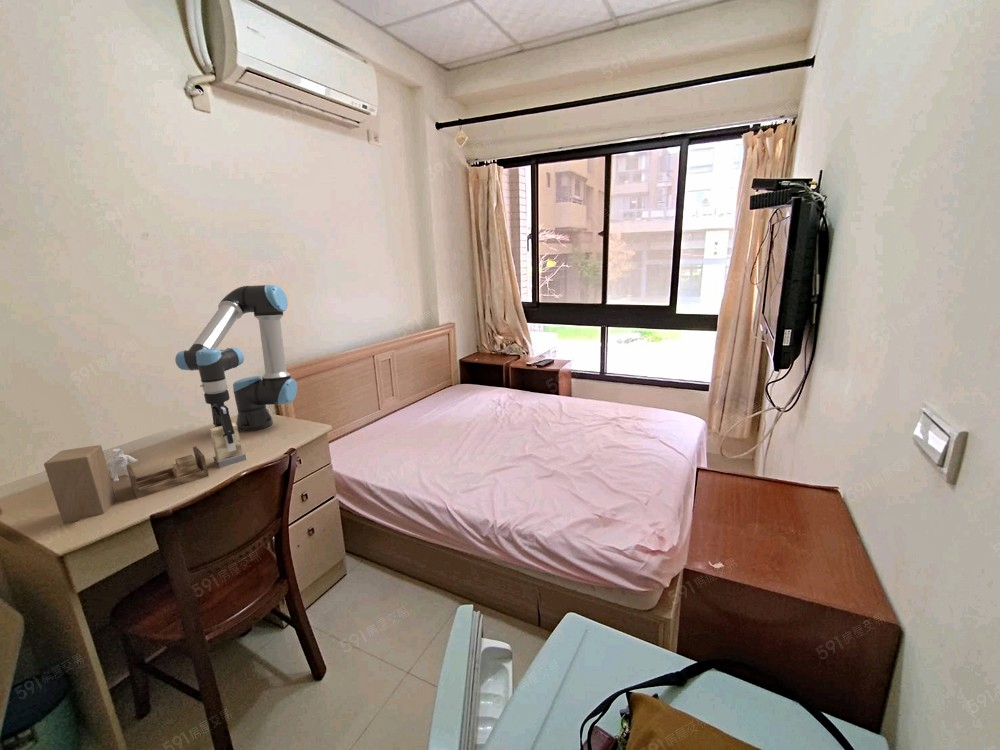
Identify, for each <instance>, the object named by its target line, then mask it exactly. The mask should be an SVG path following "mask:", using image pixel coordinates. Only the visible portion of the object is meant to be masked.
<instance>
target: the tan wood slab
mask: <svg viewBox="0 0 1000 750" xmlns="http://www.w3.org/2000/svg"><path fill="white" fill-rule="evenodd" d="M232 426H233V429H234V432H235V433H234V434H233V436H234V441H235V446H236V450H235V451H231V452H228V451H227V447H226V442H225V437H223V435H224V434H225V433H224V430H223V427H222V426H219V427H215V426H214V427H212V428H210V429H209V431H210V432H209V433H210V436H211V441H212V447H213V450H214V456H216V460H217V463H216V464H218V461H221V460H225V459H228V458H231V457H235V456H238V455H241V454H244V453H243V448H242V442H241V438H240V433H239V431H238V428H237V425H236V423H235V422H232ZM228 432H229V431H228Z"/></svg>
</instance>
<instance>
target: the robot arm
mask: <svg viewBox="0 0 1000 750" xmlns="http://www.w3.org/2000/svg"><path fill="white" fill-rule="evenodd" d="M288 305H289V302H288V298H287V294H286V293H285V291H284V290H283V289H282V287H280V286H279V285H275V284H274V285H273V284H271V285H270V284H264V285H262V284H261V285H259V284H258V285H243V286H240V287H237V288H235V289H232V290H231V292H229V293H228V294H227V295H225V296H224V297H223V298H222V299H221V301H220V302H219V304H218V306H217V307H218V310H217V311H216V312H215V313H214V314H213V316H212V318H210V320H209V322H208V323H207V324H206V325H205V327H204V328H203V330H202V331H201V333H200V334H199V335H198V336H197V338H196V340H195V341H194V342H193V343H192V345H191V346H190V347H189V349H188V350H187V349H185V350H181V351H178V352H177V353H176V355H175V357H174V358H175V359H174V360H175V364H176V366H177V367H178V368H179V369H180V370H182V371H191V372H192V371H199V377H200V381H201V384H200V385H199V386H200V388H202V391H203V392H204V394H203V396H204V400H205V403H206V404H208V405H210V407H211V408H210V409H211V416H212V422H213V423H212V424H213V425H214V428H215V427H219V426H222V427H223V430H224V433H225V434H224V435H223V437H225V442H226V447H227V451H228V452H231V451H235V450H236V446H235V441H234V436H233V434H234V433H235V432H234V429H233V426H232V423H233V422H232V419H231V415H230V411H229V408H228V406H227V405H225V402H228V401H229V400H230V397H231V396H230V393H229V390H228V382H227V378H226V375H225V372H227V371H229V370H231V369H235V368H237V367H239V366H241V365H242V364H243V363H244V360H245V355H244V352H243V351H242V350H240V348H238V347H230V348H229V347H227V348H225V349H219V345H221V343H222V342H223V340H224V338H225V337H226V335H227V334H228V332H229V331H230V329H231V328H232V327H233V325H234V324H235V322H236V321H237V319H238V320H239V319H240V318H242V317H243V315H244V314H247V313H253V316H254V318H256V319H257V320H258V325H259V332H260V333H259V334H260V341H261V349H262V357H263V365H264V374H263V375H262V376H260V375H254V376H253V375H252V376H248V377H245V378H241V379H238V380H236V381H234V382H233V384H232V388H233V394H234V400H235V404H236V408H237V409H236V411H237V417H236V423H235V424H236V425H237V428H238V432H254V431H260V430H263V429H266V428H268V427H270V426H272V425H273V424H272V423H274V419H273V417H272V415H271V414H270V412H269V411H268V409H267V405H279V406H280V405H281V406H282V405H288V404H291V403H292V402H294V401H295V399H296V396H297V393H298V383H297V381H296V379H294V378H291V377H292V375H291V374H290V372H288V371H287V368H286V367H287V365H286V358H285V349H284V342H283V341H284V340H283V332H282V324H281V323H282V322H281V319H282V318H283V316H284V312H285V311H287V309H288ZM271 424H272V425H271ZM265 427H266V428H265ZM262 428H263V429H262ZM259 429H260V430H259ZM228 431H229V432H228Z"/></svg>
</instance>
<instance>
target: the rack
mask: <svg viewBox="0 0 1000 750" xmlns="http://www.w3.org/2000/svg"><path fill="white" fill-rule="evenodd" d="M192 450H193V456H194V458H195V459H196V462H197V465H198V466H199V468H200V469H201V471H198V472H195V473H192V474H188V475H185V476H182V477H179V478H175V477H174V474H173V467H170V468H166V469H163V470H160V471H159V470H158V471H155V472H153V473H149V474H146V475H143V476H139V477H136V474H135V472H134V470H133V467H132V466H131V464H130V463H128V465H126V467H127V470H128V474H129V476H128V477H129V481H130V484H131V488H132V490H133V492H134V494H135V497H136V499H141V498H143V497H146V496H151V495H154V494H157V493H160V492H163V491H166V490H168V489H173V488H175V487H179V486H182V485H185V484H188V483H191V482H195V481H197V480H201V479H204V478H208V477H209V476H210V475H209V472H208V467H207V461H206V459H205V455H204V453H202V451H201V450H200V449H199V448H198V447H197V446H192Z"/></svg>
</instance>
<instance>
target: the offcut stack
mask: <svg viewBox="0 0 1000 750" xmlns="http://www.w3.org/2000/svg"><path fill="white" fill-rule="evenodd" d="M174 462H175V463H173V464H172V465H171V466H172V468H173V474H174V477H175V478H179V477H182V476H185V475H188V474H192V473H195V472H198V471H201V469H200V468H199V466H198V465H197V462H196V459H195V456H194V454H188V455H185V456H181V457H178V458H175V459H174Z"/></svg>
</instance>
